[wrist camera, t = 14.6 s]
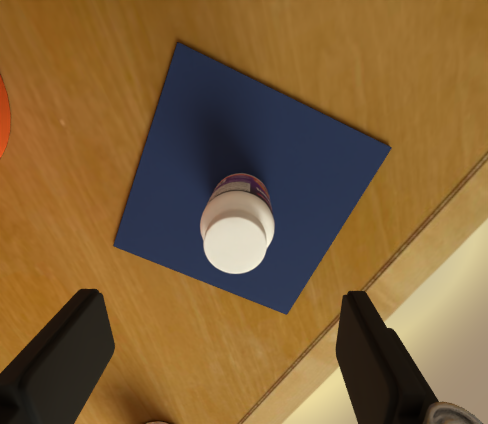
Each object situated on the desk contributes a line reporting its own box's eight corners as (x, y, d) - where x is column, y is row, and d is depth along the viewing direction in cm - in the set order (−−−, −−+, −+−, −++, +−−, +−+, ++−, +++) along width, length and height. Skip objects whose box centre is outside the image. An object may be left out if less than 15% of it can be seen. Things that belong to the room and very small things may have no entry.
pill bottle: (274, 220, 27) (284, 277, 18) (220, 230, 28) (203, 289, 18) (264, 166, 25) (269, 197, 16) (206, 178, 26) (181, 214, 17)
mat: (178, 42, 22) (177, 41, 22) (390, 147, 25) (392, 147, 24) (114, 244, 29) (113, 246, 29) (286, 312, 31) (286, 314, 31)
